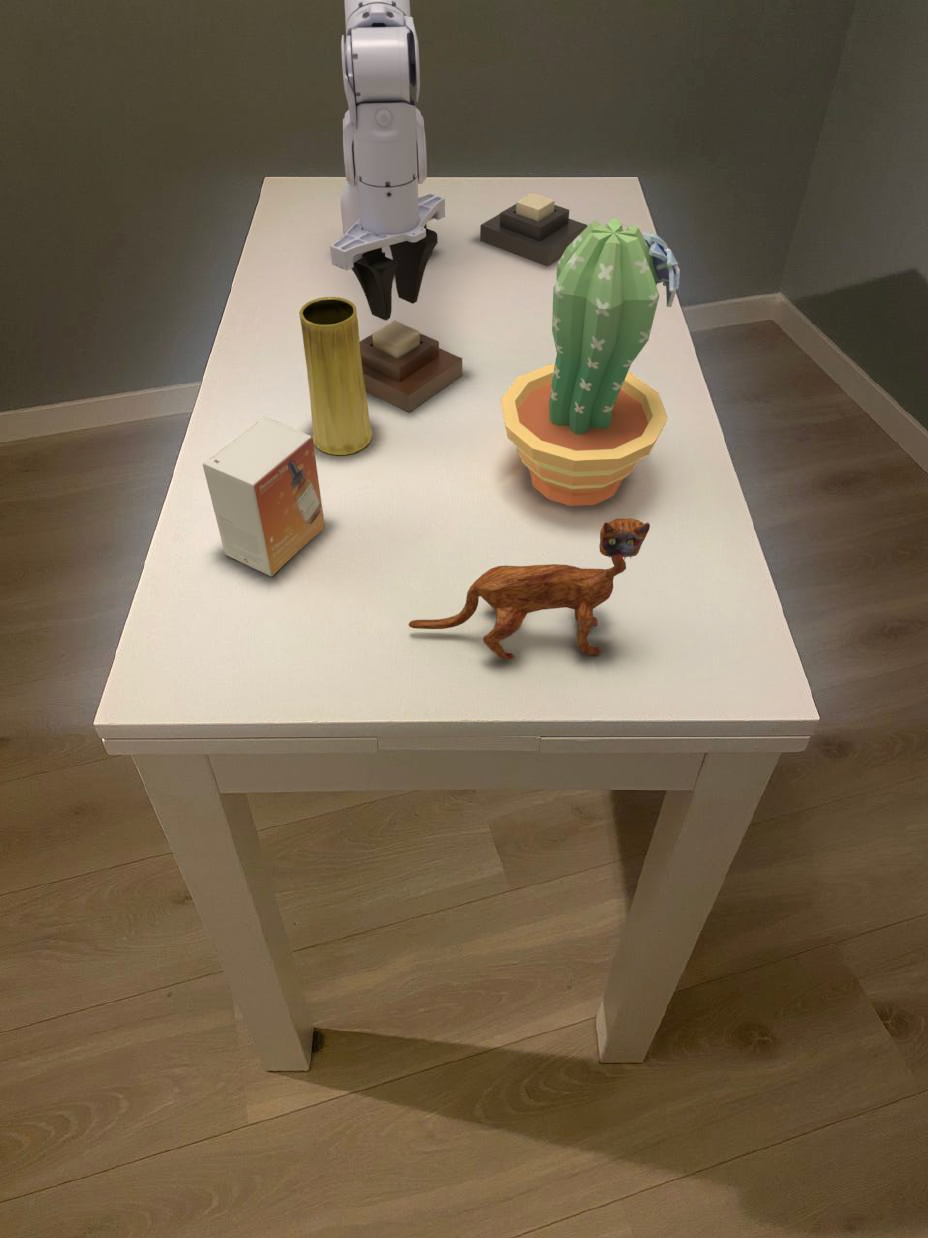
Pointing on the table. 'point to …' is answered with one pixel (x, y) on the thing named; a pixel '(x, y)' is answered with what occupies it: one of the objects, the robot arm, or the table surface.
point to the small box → (266, 495)
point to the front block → (408, 372)
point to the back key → (535, 207)
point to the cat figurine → (549, 589)
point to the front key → (396, 339)
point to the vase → (335, 376)
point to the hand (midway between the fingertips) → (394, 307)
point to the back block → (532, 234)
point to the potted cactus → (594, 368)
